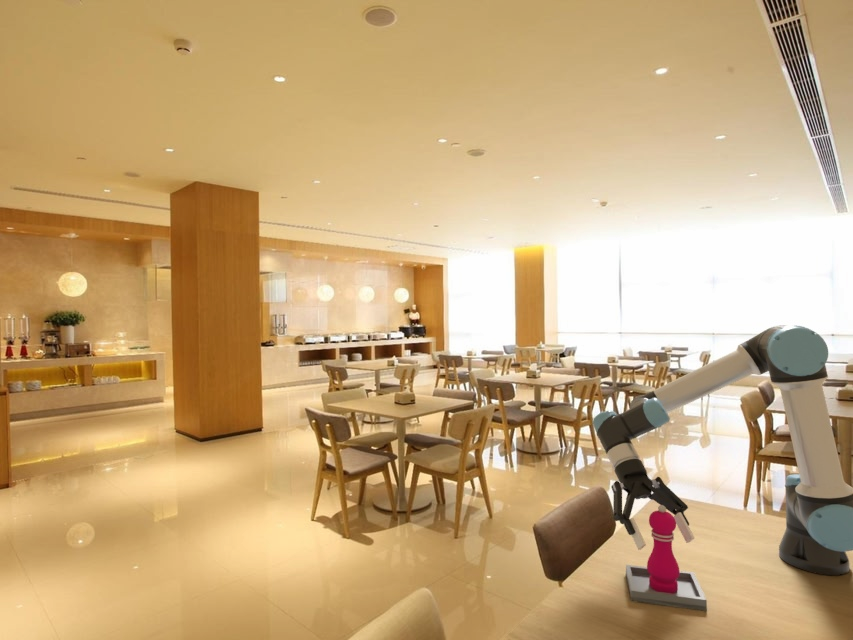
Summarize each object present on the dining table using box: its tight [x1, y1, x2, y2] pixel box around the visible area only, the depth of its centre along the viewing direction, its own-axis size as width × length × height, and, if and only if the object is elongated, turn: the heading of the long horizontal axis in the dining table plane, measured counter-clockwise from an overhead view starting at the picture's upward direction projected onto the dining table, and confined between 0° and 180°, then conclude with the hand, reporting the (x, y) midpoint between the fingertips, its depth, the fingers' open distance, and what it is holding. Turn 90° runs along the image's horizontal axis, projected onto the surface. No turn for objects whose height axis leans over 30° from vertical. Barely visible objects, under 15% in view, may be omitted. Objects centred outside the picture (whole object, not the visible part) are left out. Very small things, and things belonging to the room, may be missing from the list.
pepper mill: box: [646, 504, 680, 593], centre depth 124 cm, size 7×7×20 cm
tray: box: [625, 564, 708, 612], centre depth 124 cm, size 16×13×2 cm
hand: (666, 544), depth 122 cm, fingers open, 13 cm apart
